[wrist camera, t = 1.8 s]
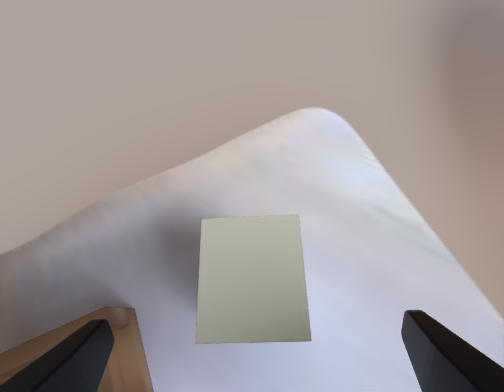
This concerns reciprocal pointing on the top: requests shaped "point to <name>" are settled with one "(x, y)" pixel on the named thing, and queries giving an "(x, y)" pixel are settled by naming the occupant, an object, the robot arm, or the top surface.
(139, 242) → the top surface
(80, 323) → the tray
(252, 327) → the pale green rectangular block
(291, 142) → the top surface
